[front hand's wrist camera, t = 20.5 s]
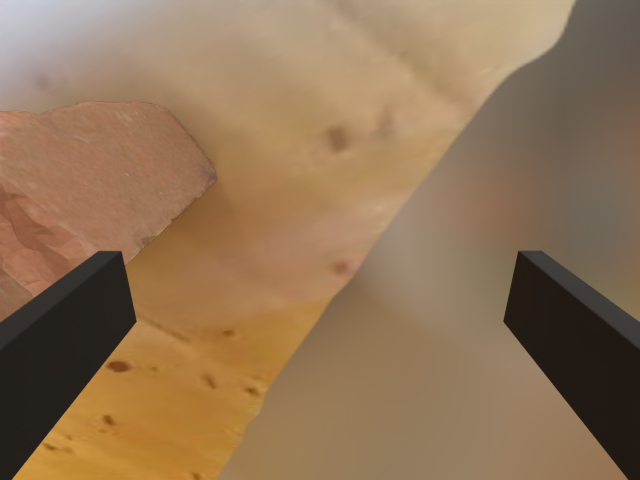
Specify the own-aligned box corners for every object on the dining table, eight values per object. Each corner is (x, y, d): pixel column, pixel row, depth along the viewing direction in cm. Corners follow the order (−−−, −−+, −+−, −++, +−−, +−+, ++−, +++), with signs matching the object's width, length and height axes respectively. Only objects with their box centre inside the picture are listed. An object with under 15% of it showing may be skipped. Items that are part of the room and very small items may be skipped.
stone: (97, 270, 50) (-141, 463, 23) (28, 202, 46) (-343, 337, 20) (225, 176, 46) (114, 280, 19) (160, 95, 42) (-80, 86, 16)
